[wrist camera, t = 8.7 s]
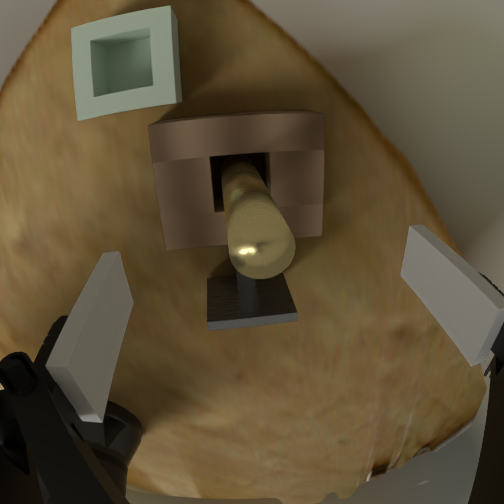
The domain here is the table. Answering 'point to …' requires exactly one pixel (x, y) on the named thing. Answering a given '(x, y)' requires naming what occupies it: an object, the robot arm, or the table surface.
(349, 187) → the table surface
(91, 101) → the hollow square block
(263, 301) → the grey t-shaped plug
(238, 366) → the table surface
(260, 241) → the peg
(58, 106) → the table surface
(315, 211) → the socket block
